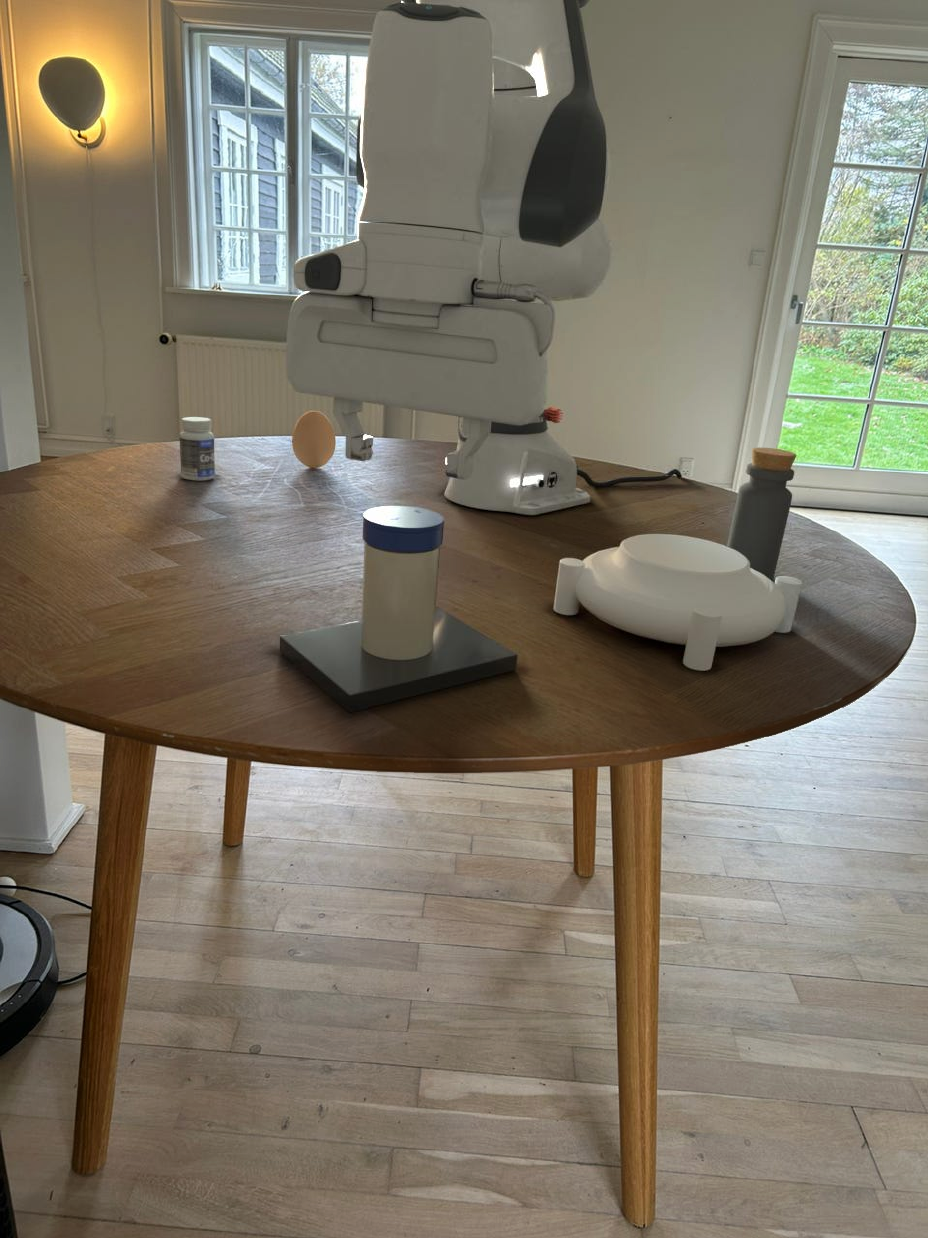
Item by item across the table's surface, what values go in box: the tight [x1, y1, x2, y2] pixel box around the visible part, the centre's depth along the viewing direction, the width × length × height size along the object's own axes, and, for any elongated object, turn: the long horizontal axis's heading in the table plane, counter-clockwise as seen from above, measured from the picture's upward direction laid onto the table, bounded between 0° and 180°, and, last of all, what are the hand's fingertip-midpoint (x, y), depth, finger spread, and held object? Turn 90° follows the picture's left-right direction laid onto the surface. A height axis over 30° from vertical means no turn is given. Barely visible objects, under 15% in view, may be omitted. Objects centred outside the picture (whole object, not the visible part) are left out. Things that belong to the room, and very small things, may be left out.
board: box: [279, 606, 518, 714], centre depth 71 cm, size 16×12×2 cm
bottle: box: [726, 447, 797, 582], centre depth 97 cm, size 6×6×15 cm
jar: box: [361, 541, 441, 660], centre depth 69 cm, size 6×6×11 cm
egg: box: [291, 410, 336, 469], centre depth 134 cm, size 7×7×9 cm
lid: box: [362, 505, 445, 552], centre depth 67 cm, size 6×6×2 cm
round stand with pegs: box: [553, 533, 803, 672], centre depth 84 cm, size 24×24×7 cm
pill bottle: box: [179, 416, 216, 482], centre depth 122 cm, size 5×5×8 cm
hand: (407, 468), depth 65 cm, fingers open, 7 cm apart
